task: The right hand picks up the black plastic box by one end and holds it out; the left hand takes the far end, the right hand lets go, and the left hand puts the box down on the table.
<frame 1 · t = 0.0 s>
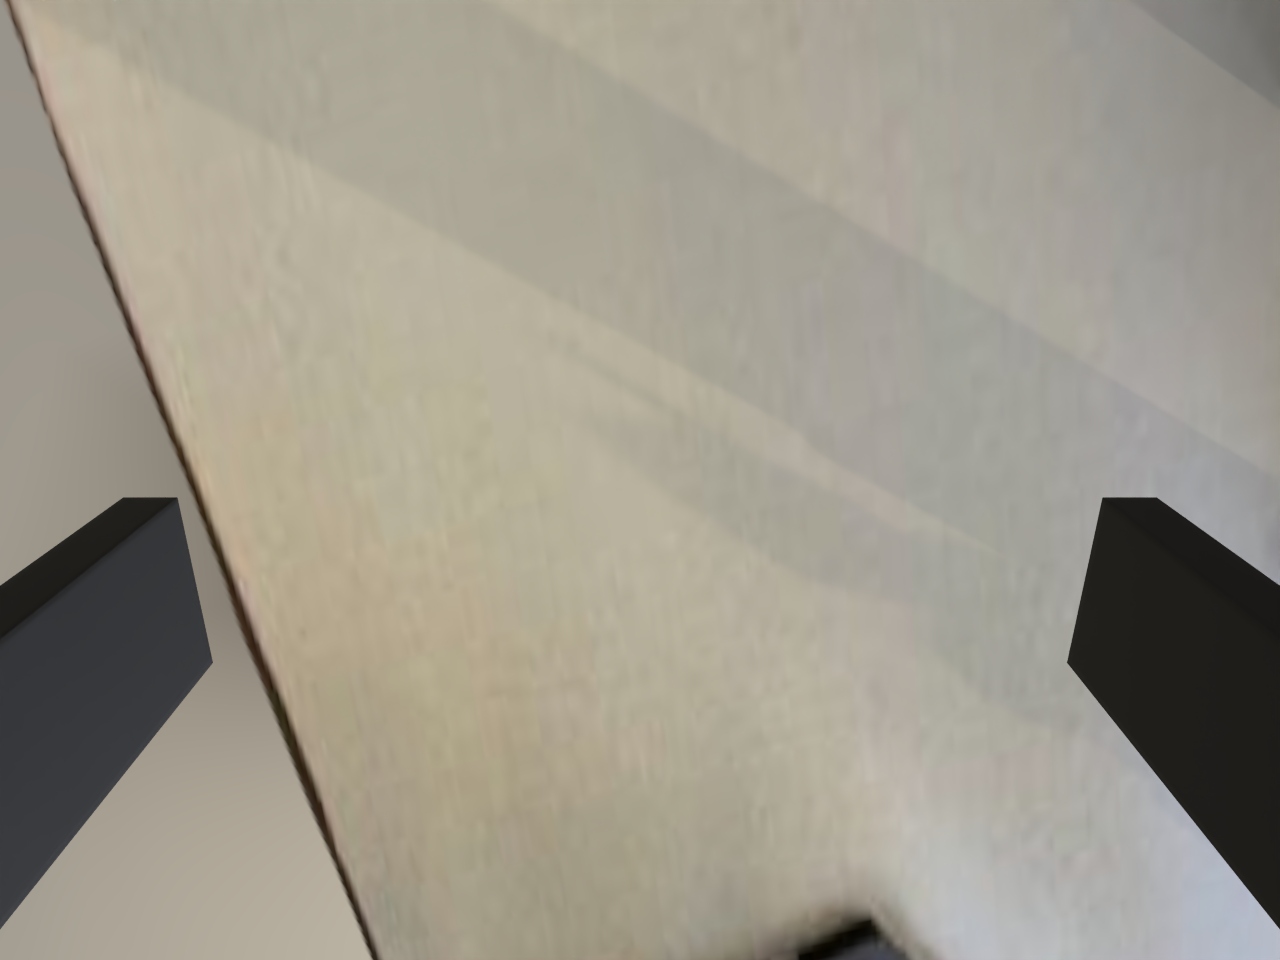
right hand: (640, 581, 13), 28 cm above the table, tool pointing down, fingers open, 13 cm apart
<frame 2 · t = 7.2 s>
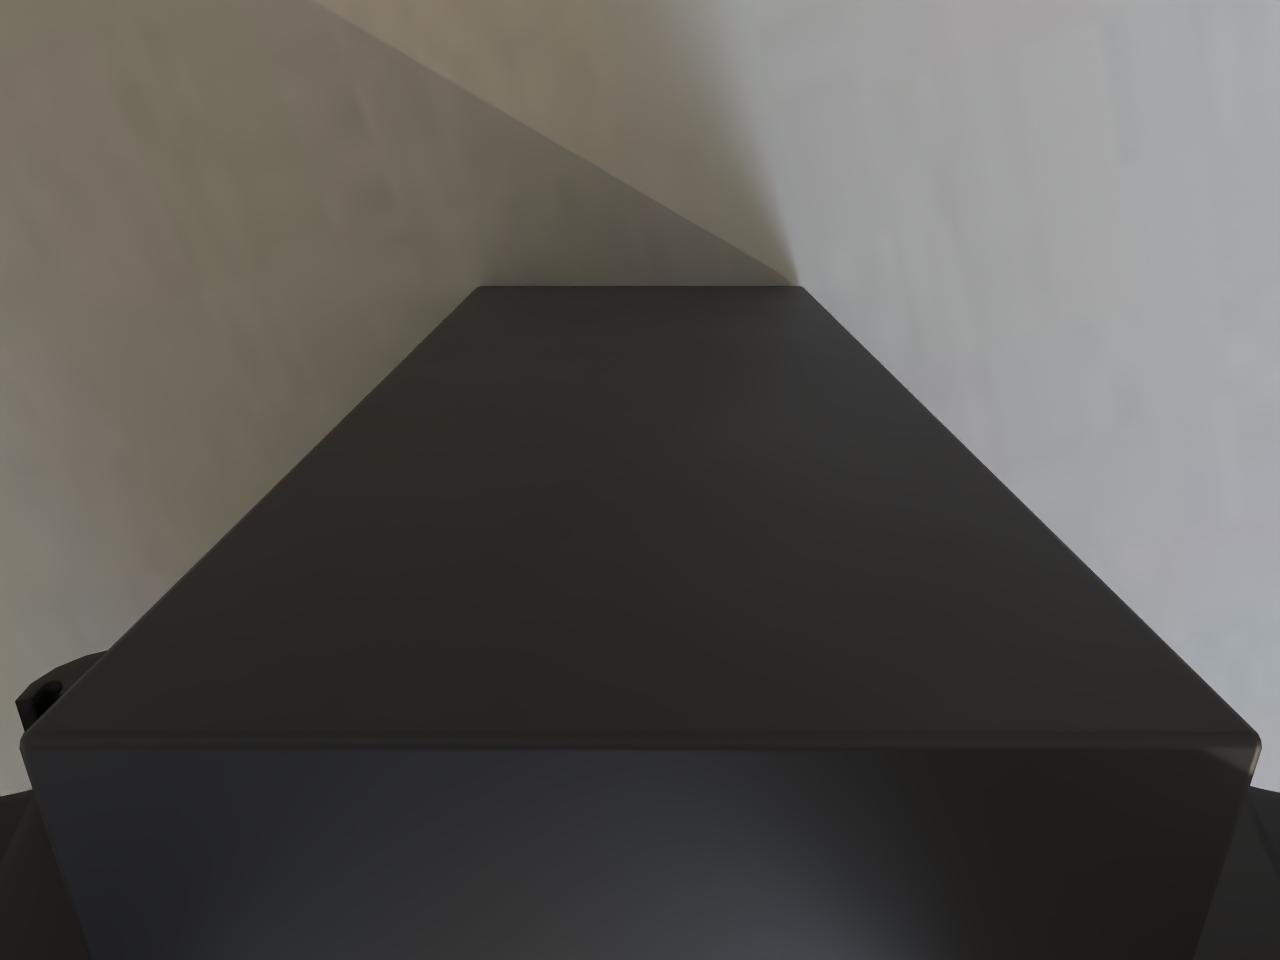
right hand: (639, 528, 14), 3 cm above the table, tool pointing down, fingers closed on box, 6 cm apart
box: (640, 836, 21), on the table, touching right hand
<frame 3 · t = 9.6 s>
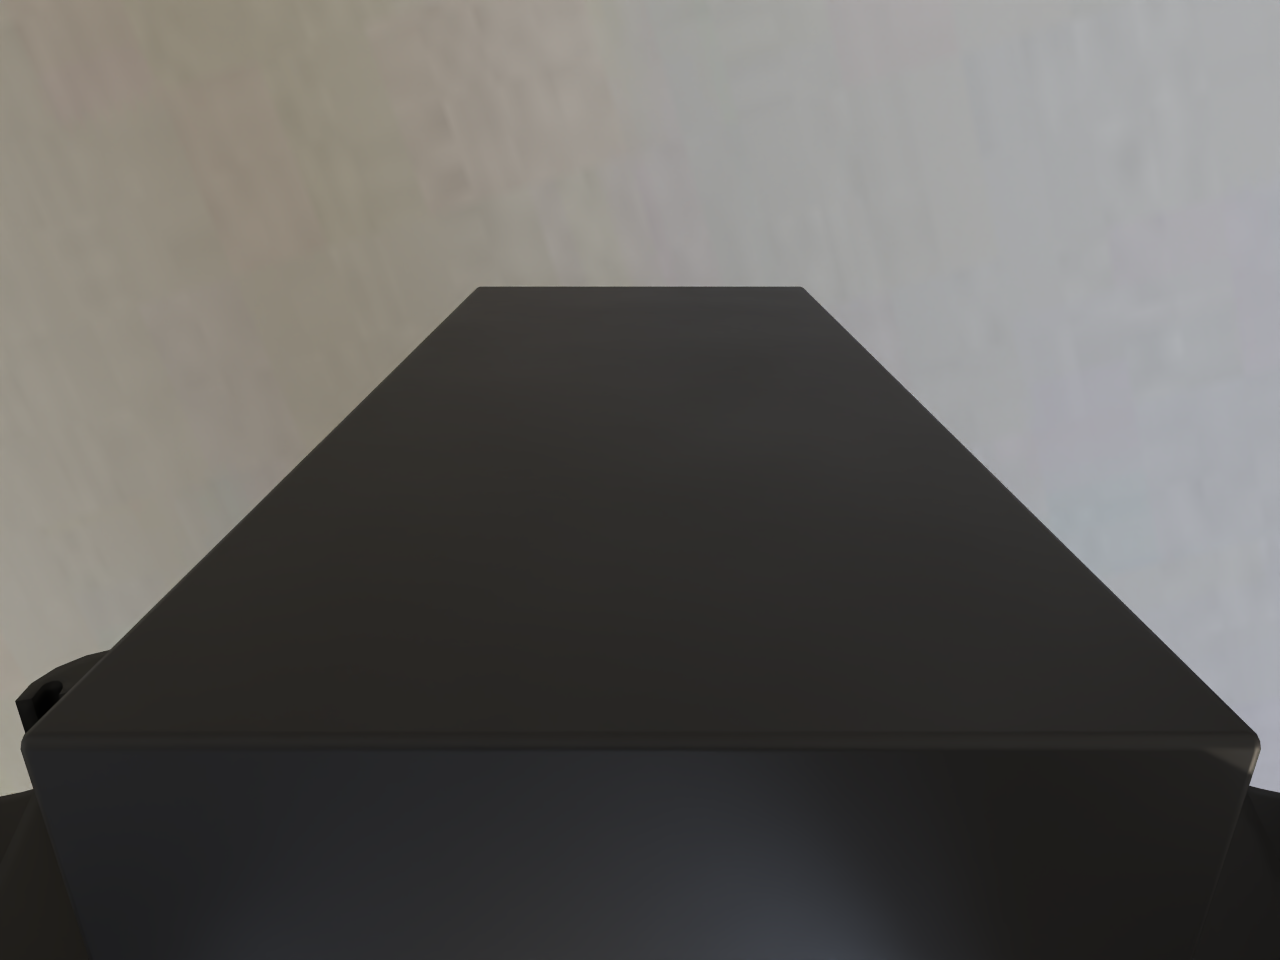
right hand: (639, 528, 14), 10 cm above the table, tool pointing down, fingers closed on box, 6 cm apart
box: (640, 836, 21), point 7 cm above the table, touching right hand
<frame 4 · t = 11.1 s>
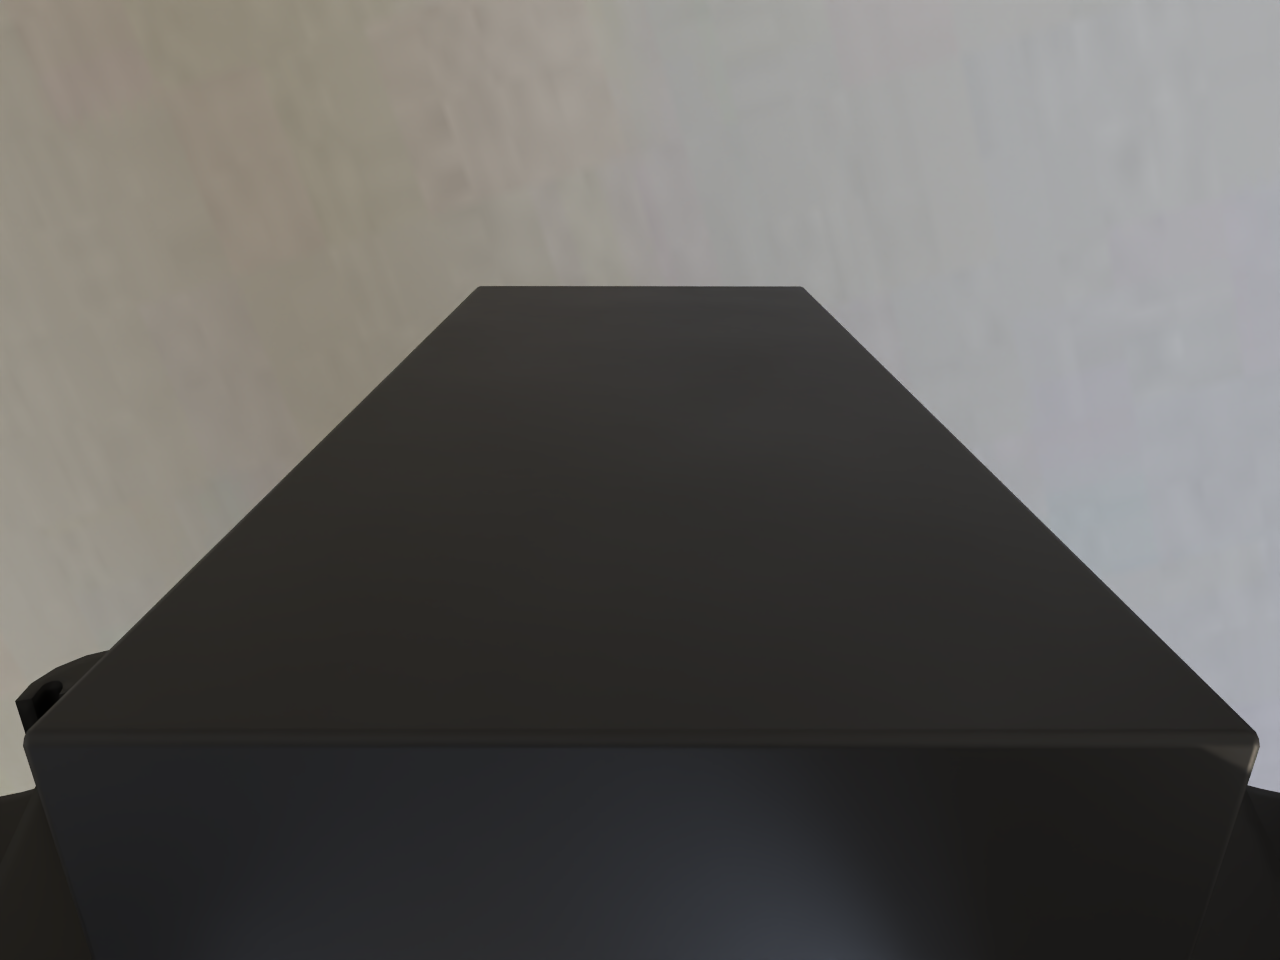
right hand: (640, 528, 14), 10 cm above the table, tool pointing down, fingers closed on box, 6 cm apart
box: (639, 835, 21), point 7 cm above the table, touching right hand, left hand
when the right hand's fingers open (10 cm above the table, at t = 12.0 s): box stays where it is, held by the left hand.
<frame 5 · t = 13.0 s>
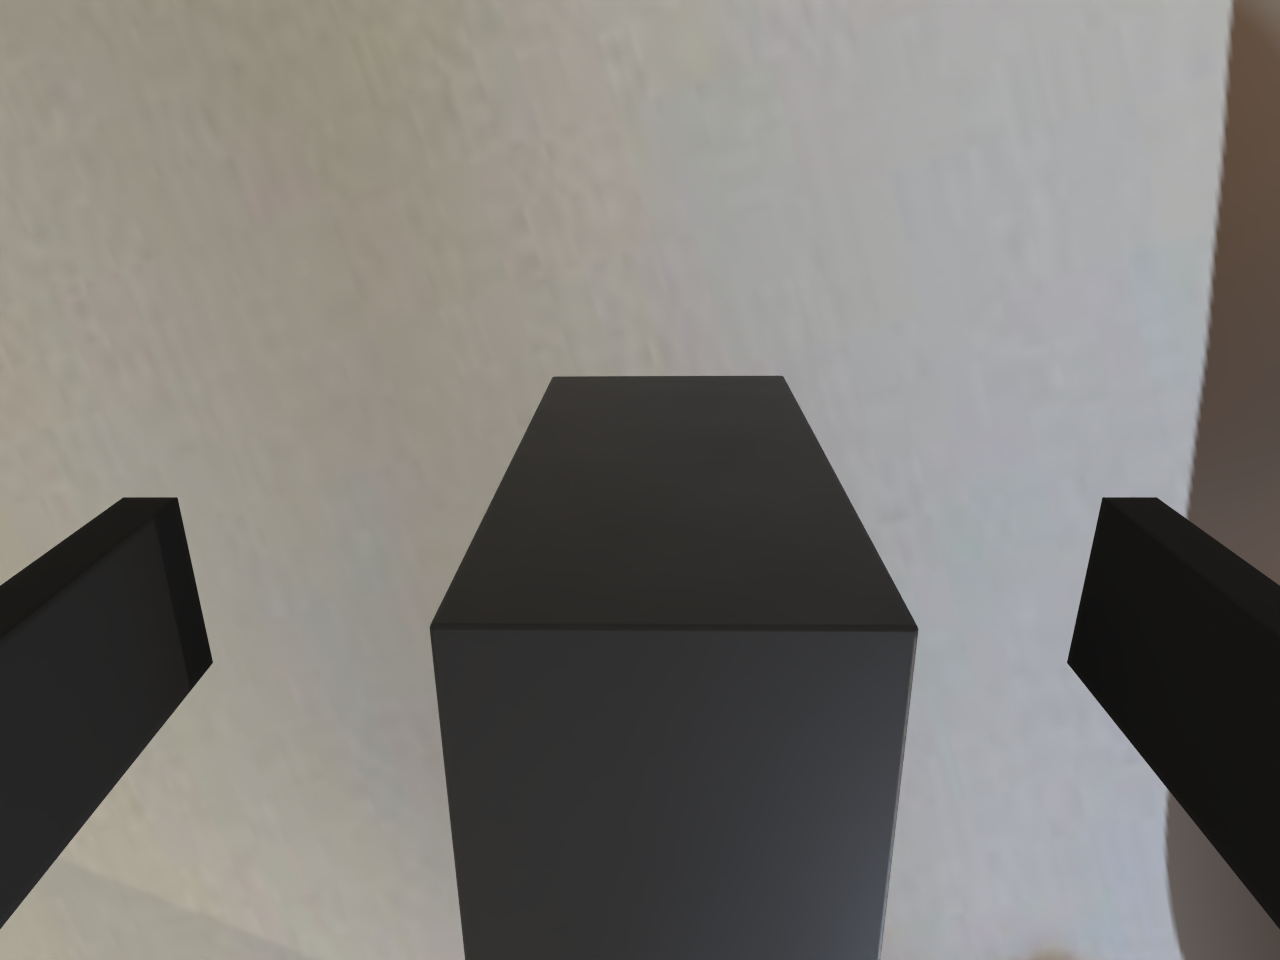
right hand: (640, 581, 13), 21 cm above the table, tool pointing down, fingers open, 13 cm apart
box: (667, 784, 28), point 10 cm above the table, touching left hand
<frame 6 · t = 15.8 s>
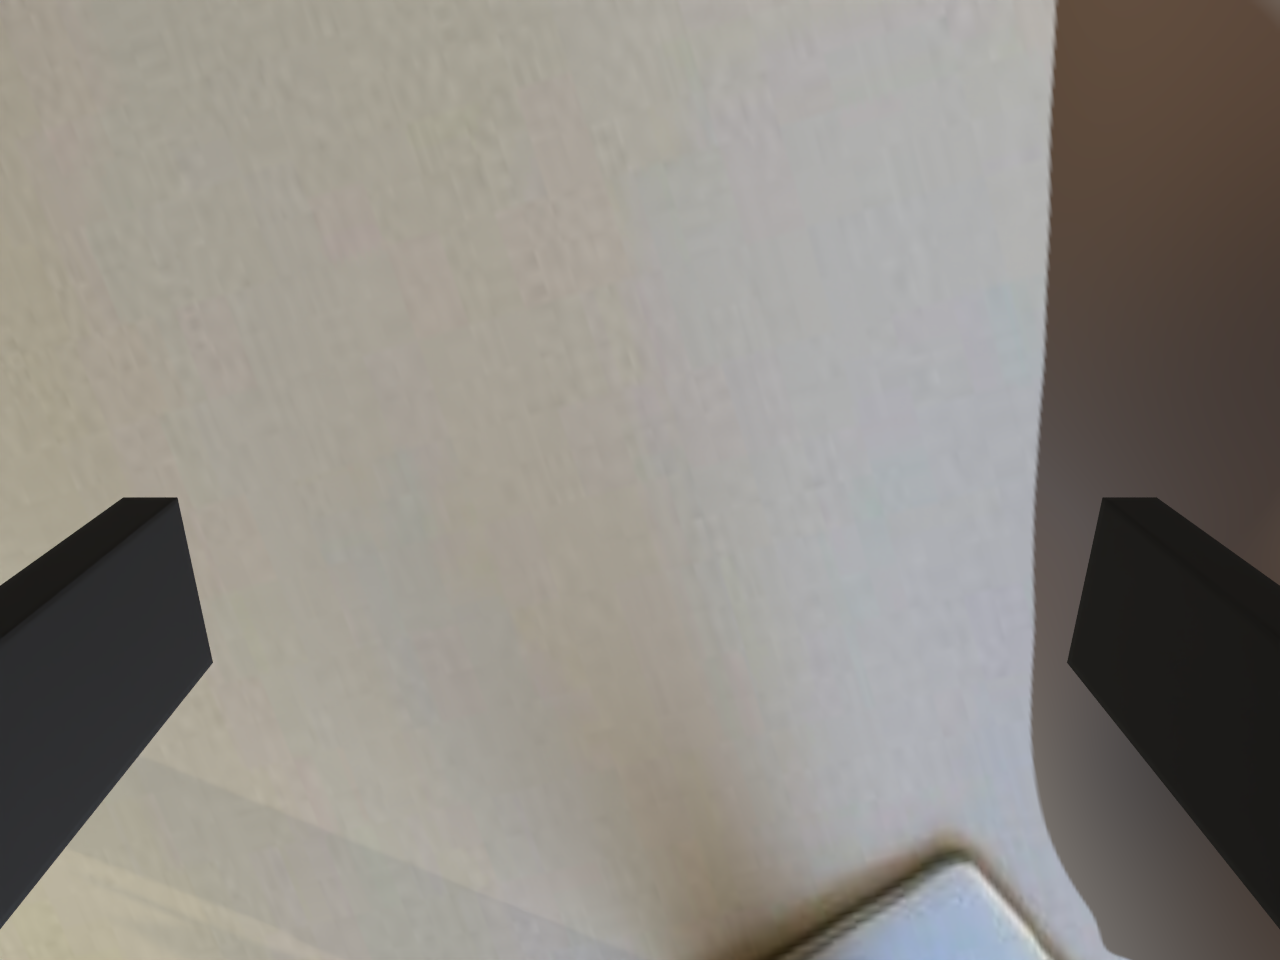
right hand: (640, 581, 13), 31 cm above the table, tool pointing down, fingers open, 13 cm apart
when the left hand's fingers open (10 cm above the table, at t = 20.9 s): box drops 1 cm, on the table.
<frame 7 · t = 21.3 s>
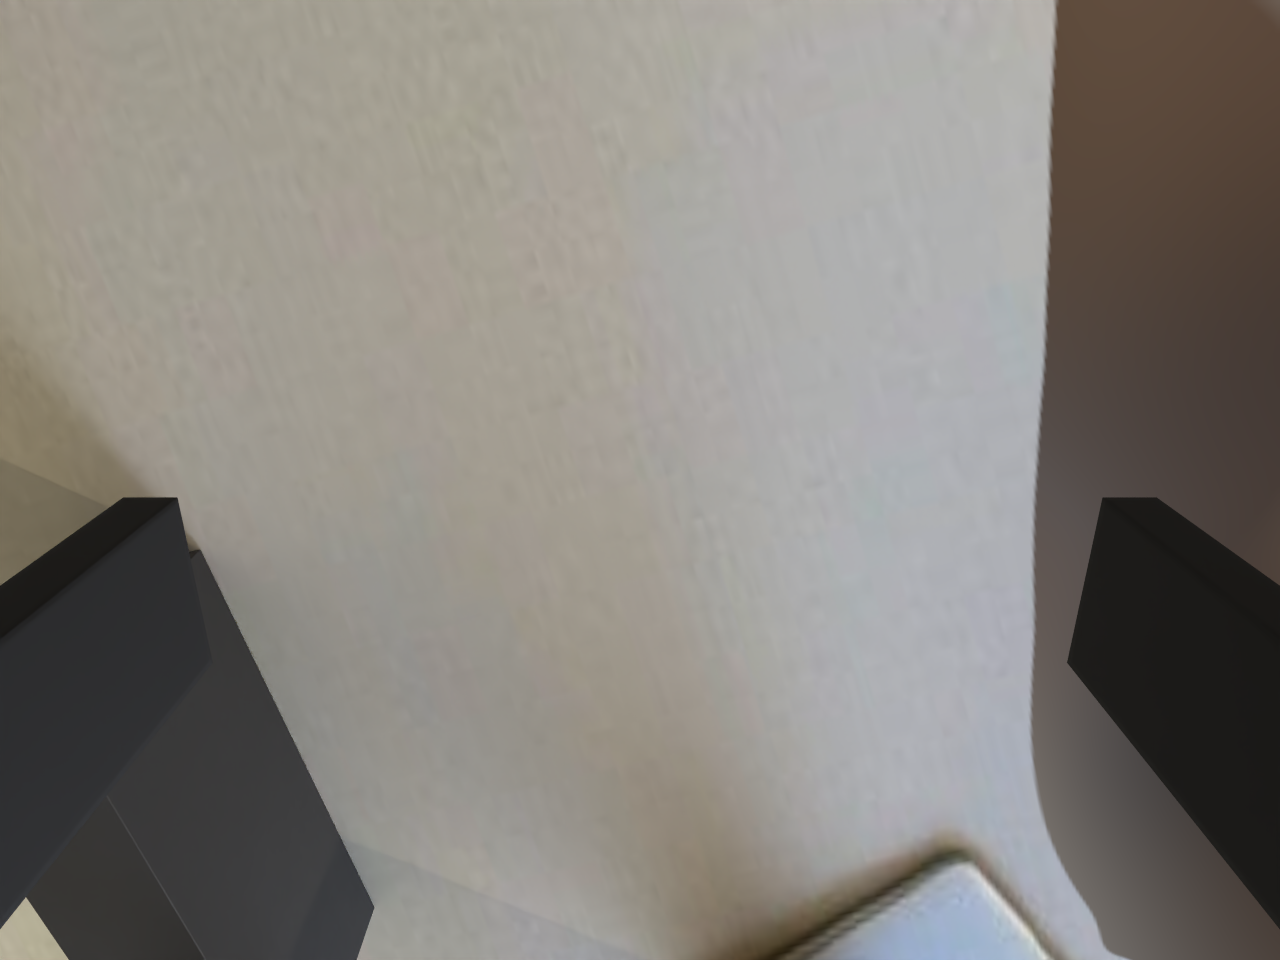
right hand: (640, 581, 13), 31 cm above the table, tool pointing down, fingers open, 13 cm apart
box: (247, 755, 52), on the table
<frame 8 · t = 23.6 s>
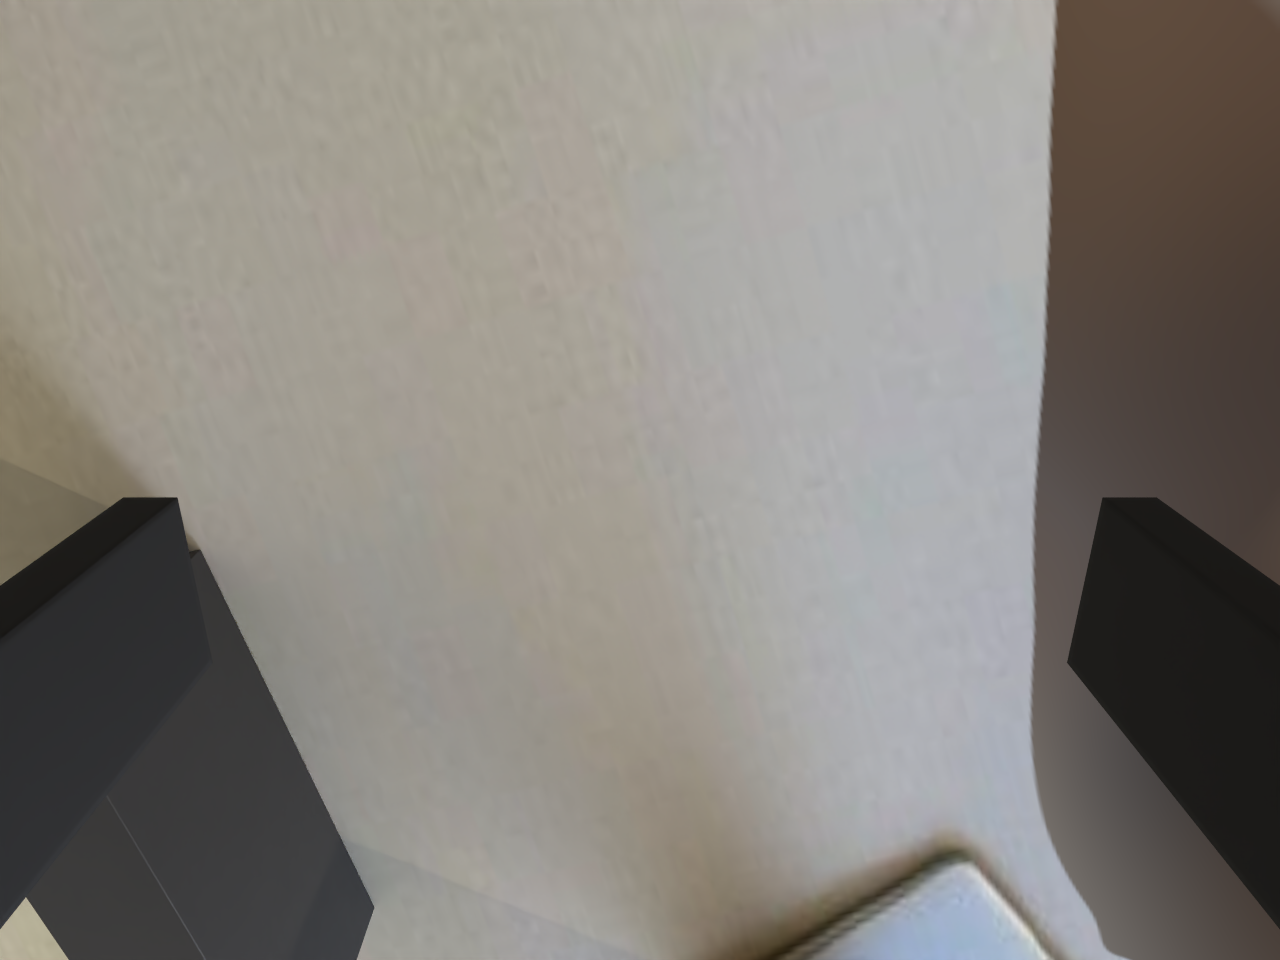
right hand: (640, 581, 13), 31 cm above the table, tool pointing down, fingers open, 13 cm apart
box: (247, 755, 52), on the table
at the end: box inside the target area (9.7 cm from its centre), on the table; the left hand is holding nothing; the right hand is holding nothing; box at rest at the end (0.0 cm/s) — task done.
